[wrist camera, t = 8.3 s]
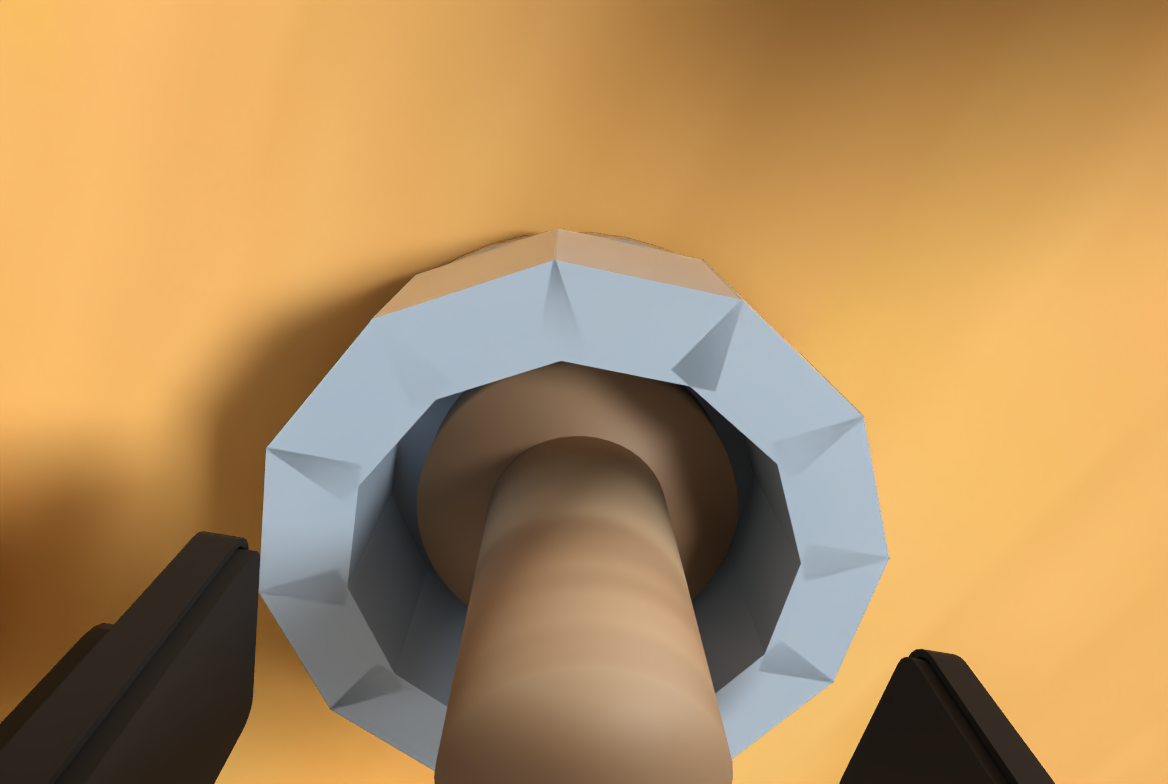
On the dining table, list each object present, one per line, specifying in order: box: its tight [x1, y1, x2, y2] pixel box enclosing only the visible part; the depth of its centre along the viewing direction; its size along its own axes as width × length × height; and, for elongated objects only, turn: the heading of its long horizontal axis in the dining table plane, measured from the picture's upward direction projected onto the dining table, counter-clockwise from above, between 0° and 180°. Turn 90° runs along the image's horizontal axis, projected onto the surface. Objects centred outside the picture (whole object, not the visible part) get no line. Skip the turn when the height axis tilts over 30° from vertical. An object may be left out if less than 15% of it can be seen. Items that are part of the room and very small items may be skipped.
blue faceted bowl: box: [258, 228, 889, 771], centre depth 14 cm, size 11×11×4 cm
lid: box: [417, 361, 738, 784], centre depth 12 cm, size 6×6×7 cm
